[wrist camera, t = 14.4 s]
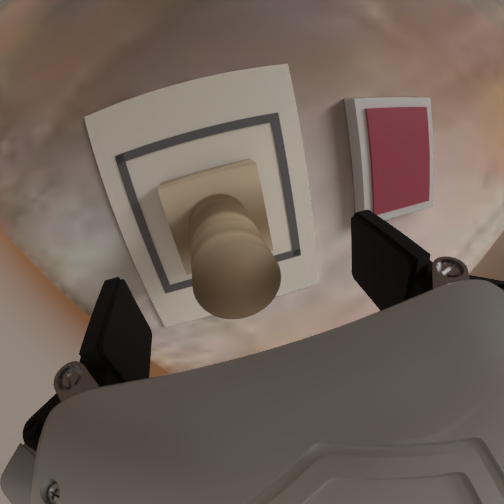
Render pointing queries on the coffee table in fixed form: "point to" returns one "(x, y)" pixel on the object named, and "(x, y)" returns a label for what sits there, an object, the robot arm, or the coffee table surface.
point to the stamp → (223, 238)
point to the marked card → (200, 158)
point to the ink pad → (391, 154)
